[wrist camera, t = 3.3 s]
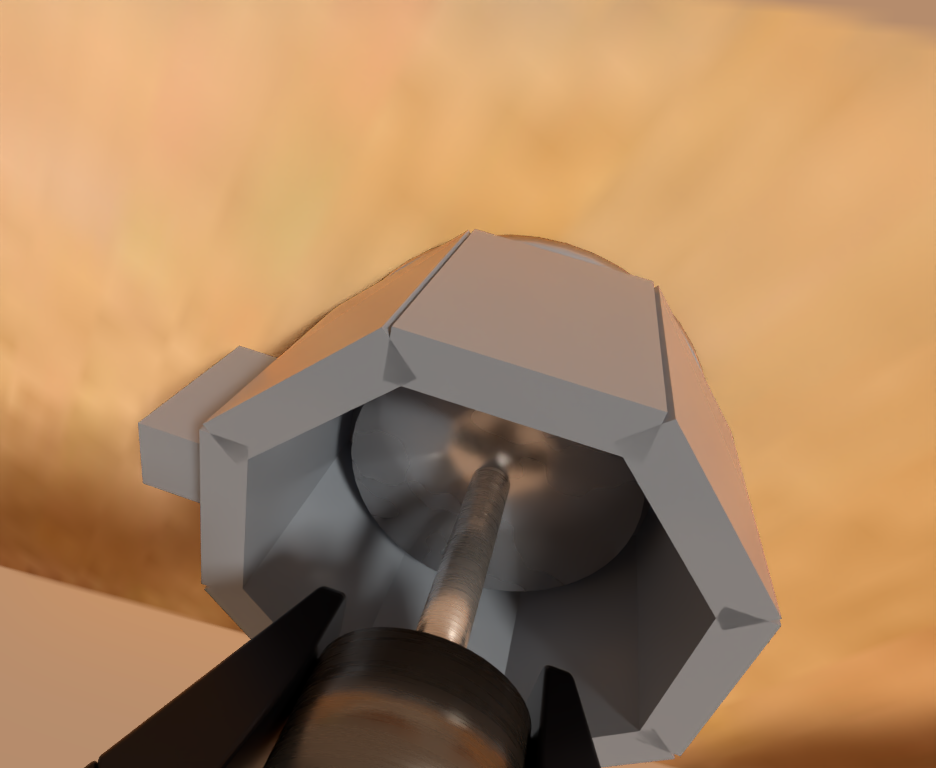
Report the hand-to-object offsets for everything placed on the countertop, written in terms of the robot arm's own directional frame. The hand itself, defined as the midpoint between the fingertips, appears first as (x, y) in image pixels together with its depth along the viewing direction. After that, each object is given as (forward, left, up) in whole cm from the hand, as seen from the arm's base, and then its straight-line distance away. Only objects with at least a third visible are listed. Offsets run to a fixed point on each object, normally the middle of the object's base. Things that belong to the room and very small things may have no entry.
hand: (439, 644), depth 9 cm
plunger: (0, 0, -4) cm, 4 cm away
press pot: (0, 0, -6) cm, 6 cm away
